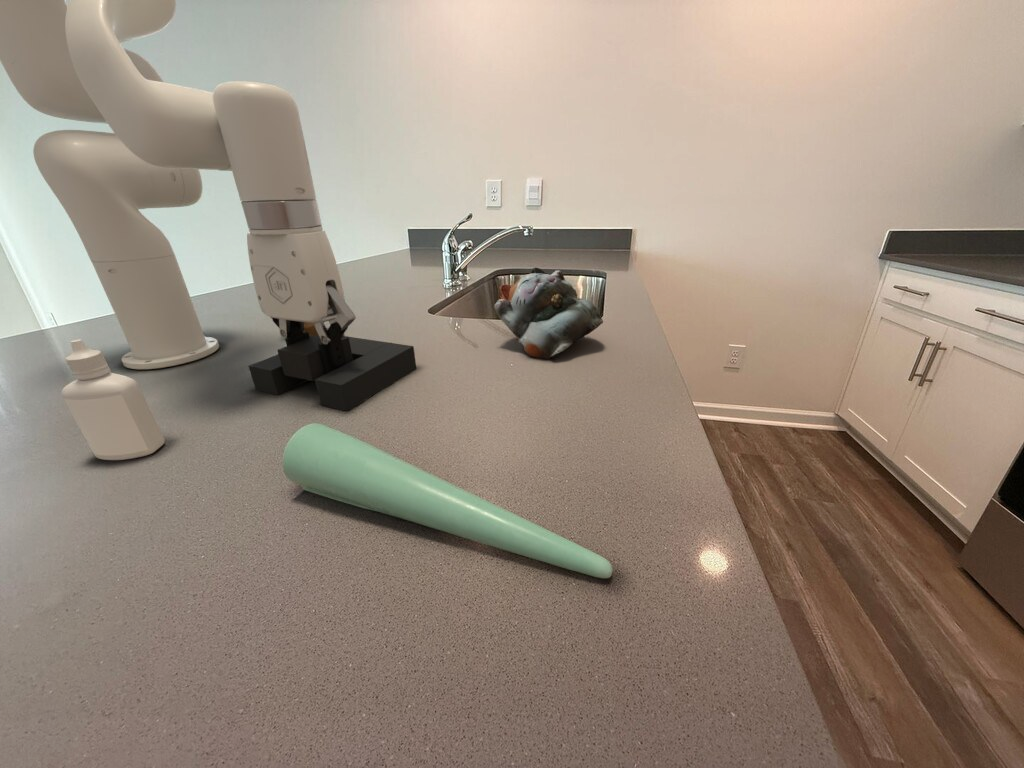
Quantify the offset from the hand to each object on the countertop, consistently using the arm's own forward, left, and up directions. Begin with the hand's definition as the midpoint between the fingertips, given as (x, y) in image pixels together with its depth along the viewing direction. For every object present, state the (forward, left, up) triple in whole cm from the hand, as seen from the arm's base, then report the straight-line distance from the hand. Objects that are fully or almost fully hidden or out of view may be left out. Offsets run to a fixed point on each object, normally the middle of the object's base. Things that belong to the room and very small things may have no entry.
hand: (319, 365), depth 54 cm
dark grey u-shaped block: (0, +3, -3) cm, 4 cm away
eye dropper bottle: (-7, -19, -3) cm, 20 cm away
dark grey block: (0, 0, 0) cm, 0 cm away
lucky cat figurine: (+23, +26, -3) cm, 35 cm away
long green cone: (+28, -15, -3) cm, 32 cm away
